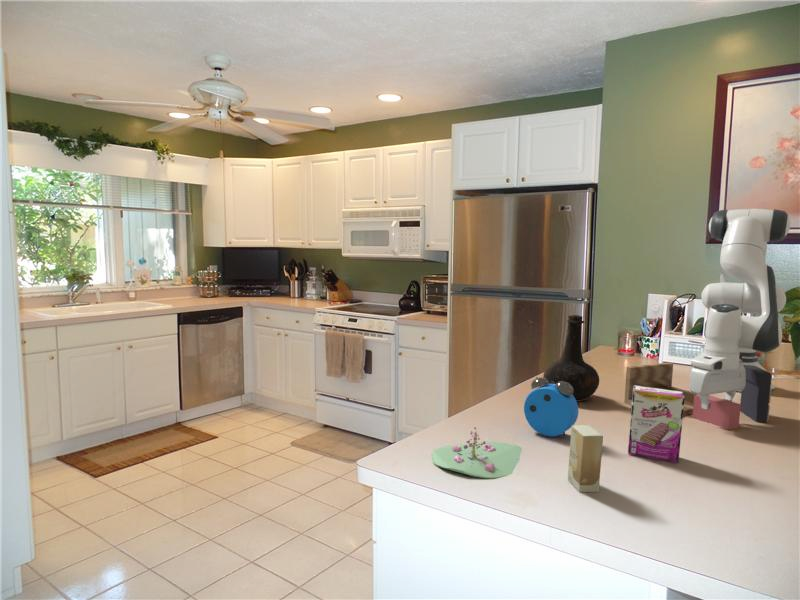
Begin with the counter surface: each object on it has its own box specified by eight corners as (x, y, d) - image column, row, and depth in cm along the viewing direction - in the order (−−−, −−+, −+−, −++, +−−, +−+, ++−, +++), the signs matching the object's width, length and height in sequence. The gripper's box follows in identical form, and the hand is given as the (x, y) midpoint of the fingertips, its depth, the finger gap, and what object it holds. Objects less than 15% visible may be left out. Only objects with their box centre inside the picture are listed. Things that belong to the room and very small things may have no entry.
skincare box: (566, 479, 111) (570, 424, 109) (586, 478, 111) (589, 424, 110) (579, 493, 104) (583, 435, 103) (600, 493, 105) (603, 435, 103)
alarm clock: (577, 436, 136) (580, 381, 135) (569, 443, 131) (572, 386, 130) (531, 425, 144) (533, 373, 143) (521, 431, 139) (524, 377, 138)
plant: (470, 434, 138) (471, 401, 137) (543, 454, 125) (544, 419, 124) (414, 463, 118) (415, 425, 117) (493, 491, 106) (495, 448, 105)
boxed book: (702, 416, 156) (704, 393, 156) (738, 428, 146) (740, 404, 146) (692, 417, 155) (694, 395, 154) (728, 430, 145) (730, 405, 144)
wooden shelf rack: (666, 396, 176) (669, 362, 175) (711, 410, 162) (714, 373, 161) (624, 402, 168) (626, 366, 167) (667, 417, 154) (670, 378, 152)
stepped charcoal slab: (770, 423, 151) (774, 373, 149) (753, 422, 152) (758, 372, 150) (752, 411, 162) (756, 365, 160) (737, 410, 162) (741, 364, 161)
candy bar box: (627, 455, 125) (632, 389, 123) (628, 448, 129) (632, 384, 127) (679, 464, 120) (685, 396, 118) (678, 456, 124) (683, 390, 123)
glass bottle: (539, 401, 168) (543, 316, 165) (545, 387, 184) (549, 310, 182) (597, 408, 161) (603, 320, 158) (598, 394, 178) (603, 314, 175)
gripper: (732, 356, 156) (728, 400, 157) (687, 360, 147) (683, 407, 149) (754, 360, 150) (749, 406, 151) (707, 365, 141) (703, 413, 143)
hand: (716, 406), depth 150 cm, fingers open, 8 cm apart
